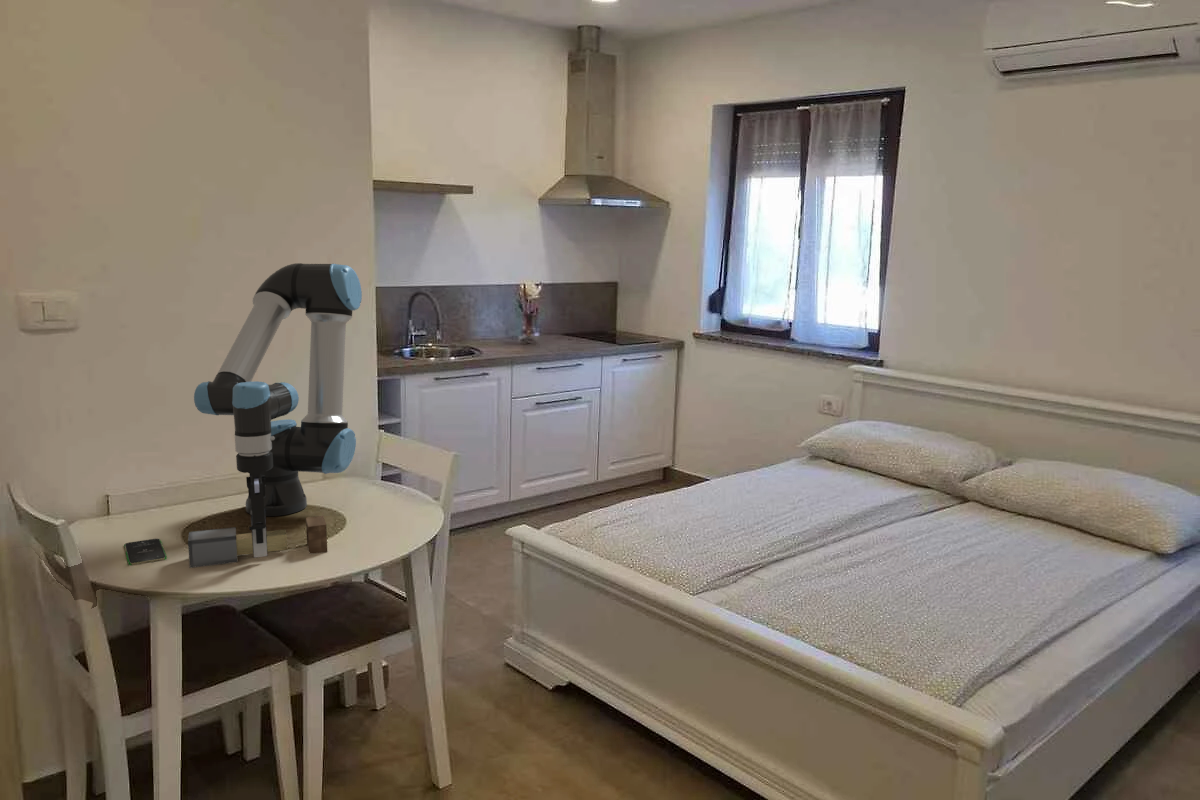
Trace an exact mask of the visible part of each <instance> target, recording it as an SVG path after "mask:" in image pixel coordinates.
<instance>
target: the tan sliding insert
mask: <svg viewBox="0 0 1200 800" xmlns="http://www.w3.org/2000/svg"><path fill="white" fill-rule="evenodd" d="M264 514H265V508H264ZM266 517H267V516H265V524H266V525H267V520H266V519H267V518H266ZM259 523H262V522H259ZM250 525H251V526H252V525H253V518H252V510H251V514H250ZM251 526H250V527H251ZM266 543H267V553H268V552H276V551H278V552H279V551H287V550H288V538H287V529H277V530H269V531H268V530H266ZM236 546H237V556H242V555H250V554H251V555H252V554H253V555H254V548H253V531H252V530H251V532H248V533H239V534H236Z"/></svg>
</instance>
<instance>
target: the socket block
mask: <svg viewBox="0 0 1200 800" xmlns="http://www.w3.org/2000/svg"><path fill="white" fill-rule="evenodd" d="M305 526H306V528H305V529H306V530H305V531H306V546H307V550H308V553H309V555H314V554H321V553H328V536H327V535H328V533H327V522H326V519H325V517H324V515H317V516H308V517H307V516H306V517H305Z"/></svg>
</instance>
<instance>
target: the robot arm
mask: <svg viewBox="0 0 1200 800" xmlns="http://www.w3.org/2000/svg"><path fill="white" fill-rule="evenodd" d="M362 292H363V291H362V285H361V282H360V278H359V276H358V274H357V273H356V271H355V270H354V269H353V267H351V266H349V265H346V264H338V263H300V262H299V263H291V264H287V265H285V266H283V267H280V268H279V269H277V270H275V272H273V273H272V274H270V275H269V276H268V277H267V278H266V279H265V280H264V281H263V282H262V283H261V284H260V286H259V287H258V288H257V290H256V292H255V294H254V295H253V297H252V305H253V306H252V308H251V310H250V312H249V314H248V316H247V318H246V319H245V321H244V323H243V325H242V326H241V329H240V331H239V332H238V335H237V336H236V338H235V340H234V342H233V344H232V346H231V348H230V349H229V351H228V353H227V355H226V357H225V359H224V360H223V363H222V365H221V366H220V368H219V370H218V372H217V374H216V375H215V377H214V378H213V381H203V382H201V383H200V384H198V385H197V386H196V387H195V390H194V392H193V393H194V394H193V402H194V403H193V404H194V406H195V408H196V410H197V411H199V412H200V414H205V415H213V416H233V423H234V447H235V452H236V453H237V454H236V456H235V458H236V459H235V462H236V470H237V471H238V472H239V473H243V474H246V473H248V474H249V476H246V477H245V480H246V488H247V491H248V494H247V498H246V501H245V512H246V513H247V514H249V515H251V510H252V518H253V525H252V526H249V528H248V529H249V530H250V531H251V532H252V531H253V548H254V554H253V558H262V557H267V556H268V552H267V543H266V531H267V523H266V524H265V516H266V517H278V516H285V515H291V514H294V513H297V512H301V511H302V510H304V509H306V507H307V505H308V503H307V502H308V501H307V496H306V494H305V492H304V489H303V485H302V483H301V481H300V478H299V472H303V473H304V472H305V473H322V474H341V473H343V472H344V471H345V470H347V469H348V467H349V466H350V464H351V463H352V461H353V458H354V456H355V452H356V447H357V437H355V436H356V433H355V432H354V430H353V429H351V428H349V425H348V424H349V421H348V420H347V419H346V418H345V416H344V415H343V407H344V405H343V402H344V379H345V378H344V377H345V374H344V373H345V357H346V356H345V351H346V332H347V331H346V326H347V323H348V322H349V321H351V320H352V318H353V312H354V311H357V310H358V309H359V308H360V306H361V303H362V301H363V300H362V296H363V294H362ZM296 309H305V312H304V313H305V314H304V315H305V316H306V317H307V319H308V320H310V323H311V325H310V344H309V345H310V350H309V368H308V369H309V371H308V396H307V399H308V400H307V414H306V415H305V416H304V417H303V418H302V419H301V420H300V426H297V425H298V424H297V422H296V420H295V419H289V418H288V419H278V420H275V419H277V418H280V417H284V416H287V415H288V414H290V413H291V412H293V411H294V410H295V409H296V408H297V406H298V405H299V401H300V398H299V393H298V391H297V389H296V388H295V386H293V385H292V384H290V383H288V382H285V381H284V382H282V381H281V382H274V383H272V384H268V383H267V382H264V381H255V380H254V381H253V379H254V377H255V374H256V373H257V372H258V371H257V370H258V369H259V367H260V365H261V363H262V362H263V359H264V357H265V355H266V354H267V351H268V350H269V347H270V346H271V343H272V341H273V339H274V337H275V335H276V333H277V331H278V329H279V327H280V325H281V323H282V322H283V320H286V319H287V318H288V317H289V316H290V314H291V313H292V311H294V310H296ZM264 508H265V514H264ZM259 522H262V523H259Z"/></svg>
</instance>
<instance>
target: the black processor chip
mask: <svg viewBox="0 0 1200 800" xmlns="http://www.w3.org/2000/svg"><path fill="white" fill-rule="evenodd" d="M123 547H124V548H123V549H124V551H125V556H126V560H127V563H128V565H129V566H137V565H143V564H149V563H154V562H160V561H161V562H162V561H167V558H168V557H167V554H166V552H165V547H163V543H162V541H161V539H160V538H150V539H143V540H138V541H130V542H126V543H125V544H124V545H123Z"/></svg>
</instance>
